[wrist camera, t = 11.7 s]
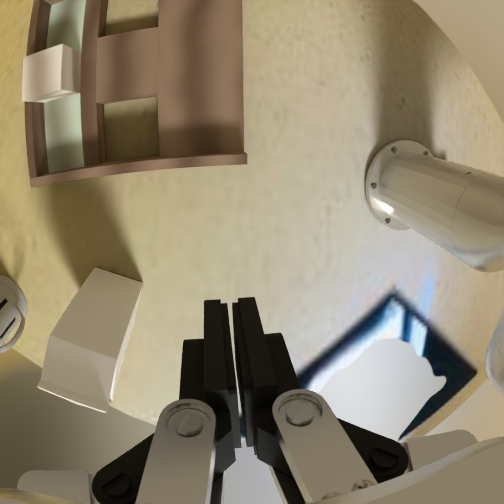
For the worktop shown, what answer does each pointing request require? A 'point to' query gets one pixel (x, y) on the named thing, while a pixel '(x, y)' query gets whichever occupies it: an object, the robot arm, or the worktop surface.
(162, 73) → the box
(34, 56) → the block
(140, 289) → the milk carton
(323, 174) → the worktop surface
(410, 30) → the worktop surface
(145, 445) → the robot arm
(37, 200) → the worktop surface
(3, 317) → the white and black mug
